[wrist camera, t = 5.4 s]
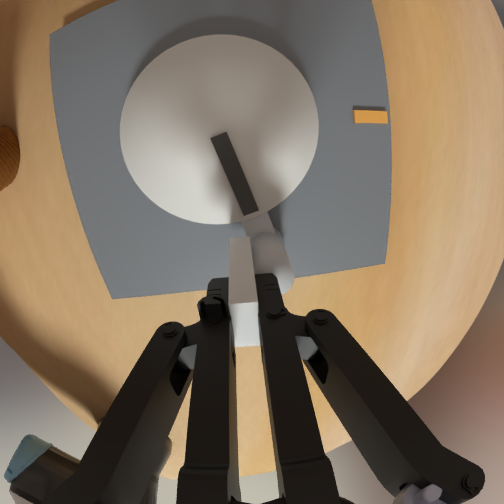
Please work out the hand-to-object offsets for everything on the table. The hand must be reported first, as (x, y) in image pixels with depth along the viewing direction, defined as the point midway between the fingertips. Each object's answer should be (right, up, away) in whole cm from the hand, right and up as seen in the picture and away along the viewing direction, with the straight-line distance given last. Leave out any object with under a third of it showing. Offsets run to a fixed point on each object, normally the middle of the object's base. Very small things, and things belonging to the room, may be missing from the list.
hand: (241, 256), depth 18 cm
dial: (-1, +6, -1) cm, 7 cm away
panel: (-2, +9, 0) cm, 9 cm away
